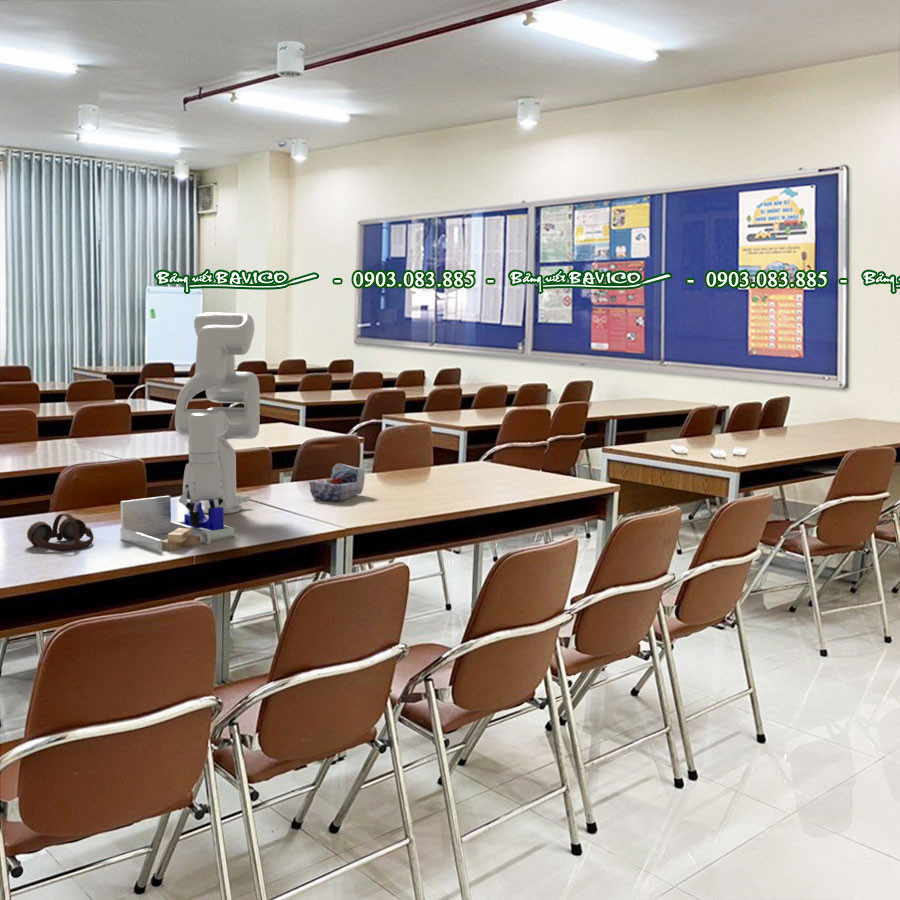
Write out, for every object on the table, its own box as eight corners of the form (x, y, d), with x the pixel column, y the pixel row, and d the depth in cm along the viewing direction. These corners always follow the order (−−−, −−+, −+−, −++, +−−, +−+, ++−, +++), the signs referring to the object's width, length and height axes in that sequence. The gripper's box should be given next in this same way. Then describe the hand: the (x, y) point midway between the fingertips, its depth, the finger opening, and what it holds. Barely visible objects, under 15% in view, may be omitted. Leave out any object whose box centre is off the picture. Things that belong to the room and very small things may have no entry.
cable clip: (184, 525, 281) (184, 503, 280) (198, 522, 284) (198, 501, 283) (209, 532, 273) (209, 509, 272) (223, 529, 276) (223, 507, 275)
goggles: (78, 536, 272) (81, 501, 269) (104, 555, 264) (108, 519, 261) (22, 545, 260) (25, 509, 258) (48, 565, 252) (51, 528, 250)
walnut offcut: (188, 543, 269) (188, 534, 269) (200, 545, 267) (200, 536, 266) (159, 550, 260) (159, 541, 260) (171, 553, 258) (171, 543, 258)
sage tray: (201, 527, 287) (201, 518, 287) (234, 537, 276) (234, 527, 275) (174, 531, 281) (174, 522, 281) (206, 541, 270) (206, 532, 269)
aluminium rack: (170, 531, 281) (169, 495, 280) (210, 543, 267) (210, 506, 266) (119, 538, 271) (118, 501, 270) (158, 552, 257) (157, 513, 255)
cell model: (369, 463, 343) (339, 472, 324) (368, 495, 344) (339, 506, 326) (335, 460, 348) (304, 469, 330) (335, 491, 349) (304, 502, 331)
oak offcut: (178, 535, 267) (178, 527, 267) (191, 535, 267) (191, 528, 267) (167, 541, 259) (167, 534, 259) (181, 542, 259) (180, 534, 259)
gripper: (222, 454, 285) (223, 518, 287) (167, 459, 273) (168, 526, 275) (237, 457, 279) (238, 522, 282) (182, 462, 267) (183, 531, 270)
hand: (204, 523), depth 278 cm, fingers closed on cable clip, 4 cm apart
